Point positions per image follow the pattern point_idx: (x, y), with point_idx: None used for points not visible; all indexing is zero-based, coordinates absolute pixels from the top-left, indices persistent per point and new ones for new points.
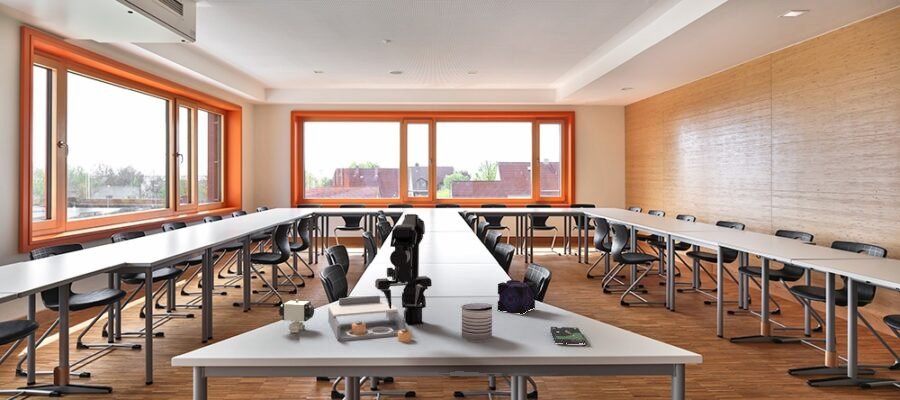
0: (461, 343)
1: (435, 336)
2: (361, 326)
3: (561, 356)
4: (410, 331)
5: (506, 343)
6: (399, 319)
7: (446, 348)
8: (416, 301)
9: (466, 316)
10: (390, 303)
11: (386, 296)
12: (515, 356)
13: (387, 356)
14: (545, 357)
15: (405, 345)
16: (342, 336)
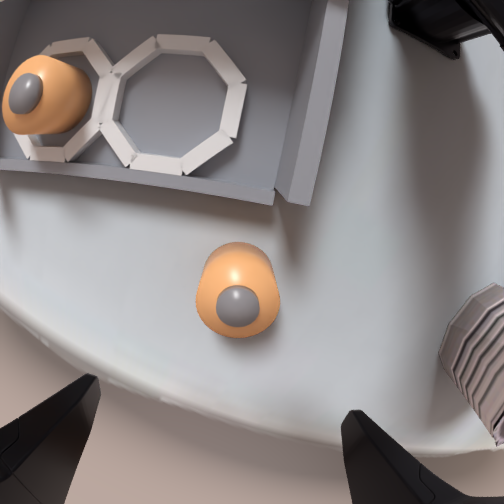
0: (411, 366)
1: (406, 259)
2: (31, 133)
3: (451, 453)
4: (267, 318)
5: None
6: (303, 104)
7: (341, 391)
8: (352, 467)
9: (483, 403)
10: (76, 443)
11: (10, 449)
12: (410, 452)
13: (121, 371)
14: (435, 456)
15: None
16: None
